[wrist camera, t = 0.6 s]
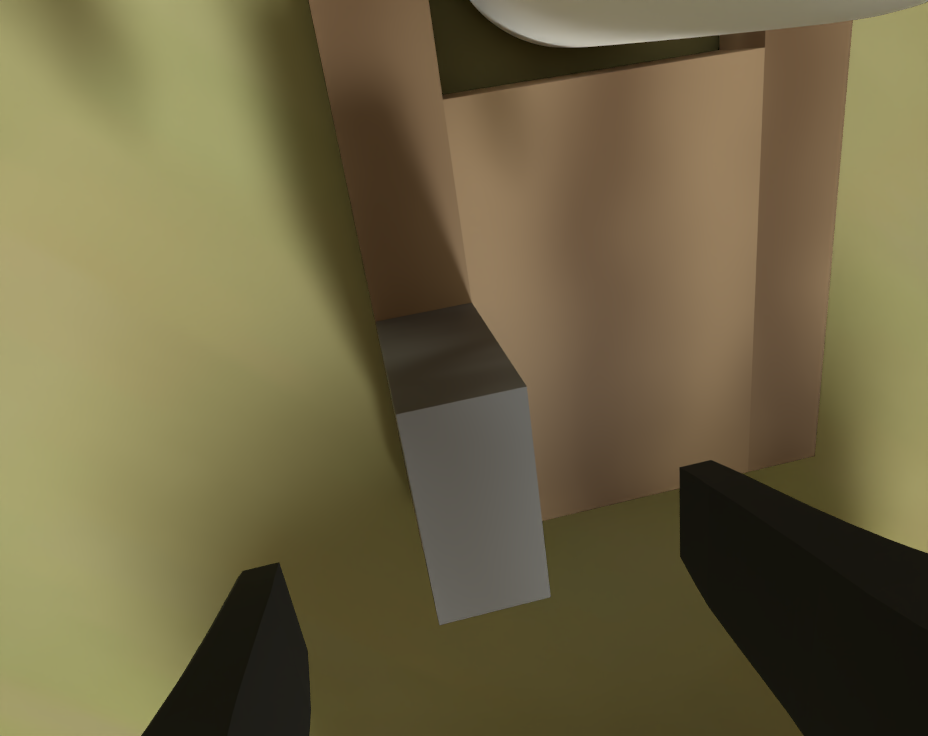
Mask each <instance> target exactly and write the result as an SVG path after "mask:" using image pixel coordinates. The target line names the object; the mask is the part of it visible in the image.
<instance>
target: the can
mask: <svg viewBox="0 0 928 736" xmlns="http://www.w3.org/2000/svg"><path fill="white" fill-rule="evenodd" d="M470 1H471V3H472V4H473V5H474V6H475V7H476V8H477V10H478V11H479V12H480V13H481V14H482V15H483V16H485V17H486V18H487V19H488V20H489V21H490V22H492V23H493V24H494V25H496V26H497V27H498V28H500V29H502V30H503V31H505V32H507V33H508V34H510V35H512V36H514V37H517V38H519V39H521V40H524V41H527V42H530V43H533V44H537V45H542V46H547V47H557V48H577V47H593V46H605V45H617V44H628V43H639V42H651V41H662V40H672V39H683V38H693V37H704V36H714V35H724V34H734V33H744V32H754V31H764V30H774V29H783V28H793V27H802V26H811V25H820V24H829V23H836V22H843V21H850V20H857V19H863V18H869V17H875V16H879V15H884V14H888V13H892V12H896V11H899V10H903V9H907V8H910V7H914V6H917V5H920V4H923V3H926V2H928V0H470Z"/></svg>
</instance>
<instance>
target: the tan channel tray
mask: <svg viewBox="0 0 928 736" xmlns="http://www.w3.org/2000/svg"><path fill="white" fill-rule="evenodd" d="M308 1H309V5H310V10H311V15H312V20H313V25H314V30H315V34H316V39H317V44H318V49H319V54H320V58H321V63H322V68H323V73H324V78H325V82H326V87H327V92H328V97H329V102H330V107H331V111H332V116H333V121H334V126H335V131H336V135H337V140H338V145H339V150H340V155H341V159H342V164H343V169H344V174H345V179H346V183H347V188H348V193H349V198H350V203H351V208H352V212H353V217H354V222H355V227H356V232H357V236H358V241H359V246H360V251H361V256H362V260H363V265H364V270H365V275H366V280H367V284H368V289H369V294H370V299H371V304H372V309H373V313H374V318H375V323H376V328H377V333H378V337H379V342H380V347H381V352H382V357H383V361H384V366H385V371H386V376H387V381H388V385H389V390H390V395H391V400H392V405H393V410H394V414H395V419H396V424H397V429H398V434H399V438H400V443H401V448H402V453H403V458H404V462H405V467H406V472H407V477H408V482H409V487H410V491H411V496H412V501H413V506H414V511H415V515H416V520H417V525H418V529H419V534H420V539H421V543H422V548H423V551H424V555H425V560H426V565H427V569H428V574H429V579H430V583H431V588H432V593H433V597H434V602H435V607H436V611H437V616H438V621H439V625H442V624H446V623H450V622H454V621H458V620H462V619H466V618H470V617H474V616H478V615H482V614H486V613H490V612H494V611H498V610H502V609H506V608H509V607H513V606H517V605H521V604H525V603H529V602H533V601H537V600H541V599H545V598H549V597H551V595H550V586H549V578H548V569H547V560H546V551H545V542H544V534H543V525H542V521H545V520H549V519H553V518H558V517H562V516H566V515H570V514H574V513H578V512H583V511H587V510H591V509H595V508H599V507H604V506H608V505H612V504H616V503H620V502H624V501H629V500H633V499H637V498H641V497H645V496H650V495H654V494H658V493H662V492H666V491H671V490H675V489H679V488H680V472H679V467H683V466H687V465H691V464H696V463H700V462H704V461H708V460H713V461H715V462H717V463H720V464H722V465H724V466H727V467H729V468H731V469H733V470H735V471H737V472H740V473H746V472H750V471H754V470H758V469H763V468H767V467H771V466H775V465H779V464H784V463H788V462H792V461H796V460H800V459H804V458H809V457H813V456H815V447H816V435H817V424H818V412H819V401H820V389H821V378H822V367H823V355H824V344H825V332H826V321H827V309H828V298H829V286H830V275H831V263H832V252H833V241H834V229H835V218H836V206H837V195H838V183H839V172H840V160H841V149H842V137H843V126H844V115H845V103H846V92H847V80H848V69H849V57H850V46H851V34H852V23H853V20H850V21H843V22H836V23H829V24H820V25H811V26H802V27H793V28H783V29H774V30H764V31H754V32H744V33H734V34H724V35H720V44H719V50H716V51H710V52H704V53H698V54H691V55H685V56H679V57H673V58H667V59H660V60H654V61H648V62H642V63H636V64H630V65H623V66H617V67H611V68H605V69H599V70H592V71H586V72H580V73H574V74H568V75H561V76H555V77H549V78H543V79H537V80H531V81H524V82H518V83H512V84H506V85H500V86H493V87H487V88H481V89H475V90H469V91H462V92H456V93H450V94H444V95H442V91H441V84H440V77H439V70H438V63H437V56H436V49H435V42H434V35H433V28H432V21H431V14H430V7H429V0H308Z"/></svg>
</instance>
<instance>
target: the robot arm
mask: <svg viewBox="0 0 928 736" xmlns="http://www.w3.org/2000/svg"><path fill="white" fill-rule="evenodd" d="M679 472H680V557H681V559H682V561H683V563H684V564H685V566H686V568H687V570H688V572H689V574H690V575H691V577H692V579H693V581H694V583H695V584H696V586H697V588H698V590H699V591H700V593H701V595H702V596H703V598H704V600H705V602H706V603H707V605H708V606H709V608H710V609H711V611H712V612H713V613H714V615H715V616H716V617H717V619H718V620H719V622H720V623H721V624H722V626H723V627H724V628H725V630H726V631H727V632H728V634H729V635H730V636H731V638H732V639H733V640H734V642H735V643H736V644H737V646H738V647H739V648H740V650H741V651H742V652H743V654H744V655H745V656H746V658H747V659H748V660H749V662H750V663H751V664H752V666H753V667H754V668H755V670H756V671H757V672H758V674H759V675H760V676H761V678H762V679H763V680H764V682H765V683H766V684H767V686H768V687H769V688H770V690H771V691H772V692H773V694H774V695H775V696H776V698H777V699H778V700H779V701H780V703H781V704H782V705H783V707H784V708H785V709H786V711H787V712H788V714H789V715H790V717H791V718H792V719H793V721H794V722H795V724H796V725H797V727H798V728H799V730H800V731H801V732H802V734H803V735H804V736H928V553H925V552H922V551H919V550H916V549H913V548H911V547H908V546H905V545H902V544H900V543H897V542H894V541H892V540H889V539H886V538H884V537H882V536H879V535H877V534H874V533H872V532H869V531H867V530H864V529H862V528H859V527H857V526H854V525H852V524H850V523H847V522H845V521H843V520H840V519H838V518H836V517H833V516H831V515H829V514H827V513H824V512H822V511H820V510H818V509H815V508H813V507H811V506H809V505H807V504H805V503H802V502H800V501H798V500H796V499H794V498H792V497H790V496H788V495H785V494H783V493H781V492H779V491H777V490H775V489H773V488H771V487H769V486H767V485H765V484H762V483H760V482H758V481H756V480H754V479H752V478H750V477H748V476H746V475H744V474H742V473H740V472H737V471H735V470H733V469H731V468H729V467H727V466H724V465H722V464H720V463H717V462H715V461H713V460H708V461H704V462H700V463H696V464H691V465H687V466H683V467H679ZM310 715H311V703H310V681H309V664H308V651H307V647H306V644H305V641H304V638H303V635H302V632H301V629H300V626H299V623H298V619H297V616H296V613H295V610H294V607H293V604H292V601H291V598H290V595H289V591H288V588H287V585H286V582H285V579H284V576H283V573H282V570H281V567H280V563H275V564H270V565H266V566H262V567H258V568H254V569H249V570H245V571H242V573H241V574H240V576H239V577H238V579H237V580H236V582H235V584H234V586H233V588H232V589H231V591H230V593H229V595H228V597H227V599H226V600H225V602H224V604H223V606H222V608H221V610H220V611H219V613H218V615H217V617H216V618H215V620H214V622H213V624H212V625H211V627H210V629H209V631H208V633H207V634H206V636H205V638H204V639H203V641H202V643H201V644H200V646H199V648H198V649H197V651H196V653H195V654H194V656H193V658H192V659H191V661H190V663H189V664H188V666H187V668H186V669H185V671H184V673H183V674H182V676H181V677H180V679H179V680H178V682H177V684H176V685H175V687H174V688H173V690H172V691H171V693H170V694H169V696H168V697H167V699H166V700H165V702H164V703H163V705H162V706H161V707H160V709H159V710H158V712H157V713H156V715H155V716H154V718H153V719H152V721H151V722H150V724H149V725H148V727H147V728H146V730H145V731H144V732H143V734H142V735H141V736H309V732H310Z"/></svg>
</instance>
